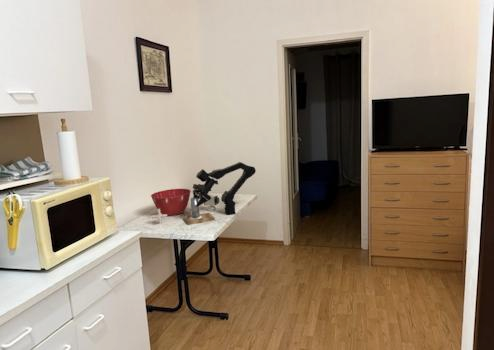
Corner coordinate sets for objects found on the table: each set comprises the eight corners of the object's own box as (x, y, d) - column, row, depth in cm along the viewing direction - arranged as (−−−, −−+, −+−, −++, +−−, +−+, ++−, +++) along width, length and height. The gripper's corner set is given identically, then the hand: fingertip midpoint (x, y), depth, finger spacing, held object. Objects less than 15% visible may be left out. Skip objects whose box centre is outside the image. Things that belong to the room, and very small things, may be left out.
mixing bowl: (171, 220, 256) (169, 198, 253) (145, 216, 273) (142, 195, 271) (200, 210, 278) (198, 190, 275) (174, 206, 295) (172, 187, 293)
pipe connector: (153, 222, 256) (152, 207, 254) (168, 220, 256) (167, 206, 255) (151, 226, 246) (149, 211, 244) (166, 225, 247) (165, 210, 245)
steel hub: (200, 215, 254) (198, 197, 252) (199, 217, 249) (197, 198, 247) (193, 216, 254) (191, 197, 252) (191, 218, 249) (189, 199, 247)
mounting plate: (209, 215, 262) (209, 212, 262) (214, 220, 249) (214, 216, 249) (184, 219, 256) (183, 216, 256) (188, 224, 243) (187, 221, 243)
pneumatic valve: (217, 211, 270) (216, 195, 268) (203, 211, 275) (201, 195, 273) (221, 209, 276) (219, 193, 274) (206, 209, 280) (205, 193, 278)
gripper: (193, 177, 258) (180, 196, 254) (204, 180, 242) (190, 200, 238) (205, 186, 263) (192, 205, 260) (217, 190, 247) (203, 210, 244)
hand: (194, 205), depth 250 cm, fingers open, 9 cm apart
